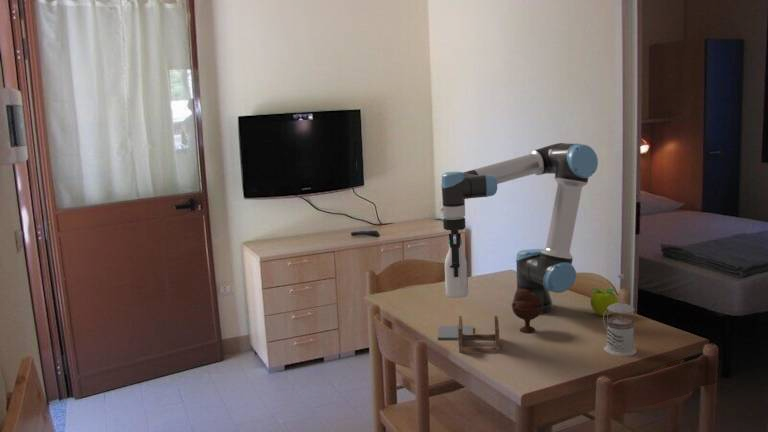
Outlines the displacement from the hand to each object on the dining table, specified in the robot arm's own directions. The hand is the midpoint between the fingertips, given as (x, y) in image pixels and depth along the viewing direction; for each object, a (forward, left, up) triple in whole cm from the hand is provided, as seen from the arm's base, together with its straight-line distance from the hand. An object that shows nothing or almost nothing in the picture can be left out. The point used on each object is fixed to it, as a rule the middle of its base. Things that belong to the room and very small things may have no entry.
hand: (456, 282), depth 220 cm
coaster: (+1, -1, -19) cm, 19 cm away
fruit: (-53, -21, -19) cm, 60 cm away
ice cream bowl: (-24, -4, -19) cm, 31 cm away
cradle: (-7, +10, -19) cm, 23 cm away
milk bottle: (0, 0, -5) cm, 5 cm away
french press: (-51, +13, -19) cm, 56 cm away
